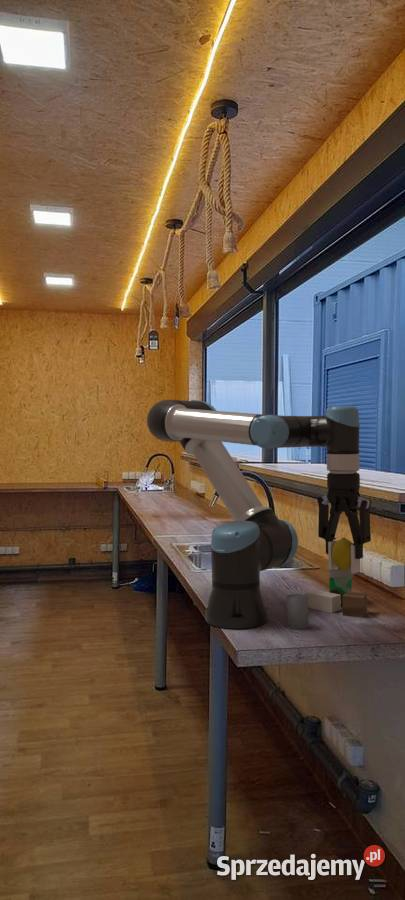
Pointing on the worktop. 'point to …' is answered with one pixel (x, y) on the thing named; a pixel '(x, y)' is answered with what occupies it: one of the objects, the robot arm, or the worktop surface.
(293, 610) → the slate cylinder
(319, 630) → the worktop surface
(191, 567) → the worktop surface
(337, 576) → the food container
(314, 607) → the off-white brick
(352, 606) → the walnut cube
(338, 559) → the lemon
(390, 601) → the worktop surface
